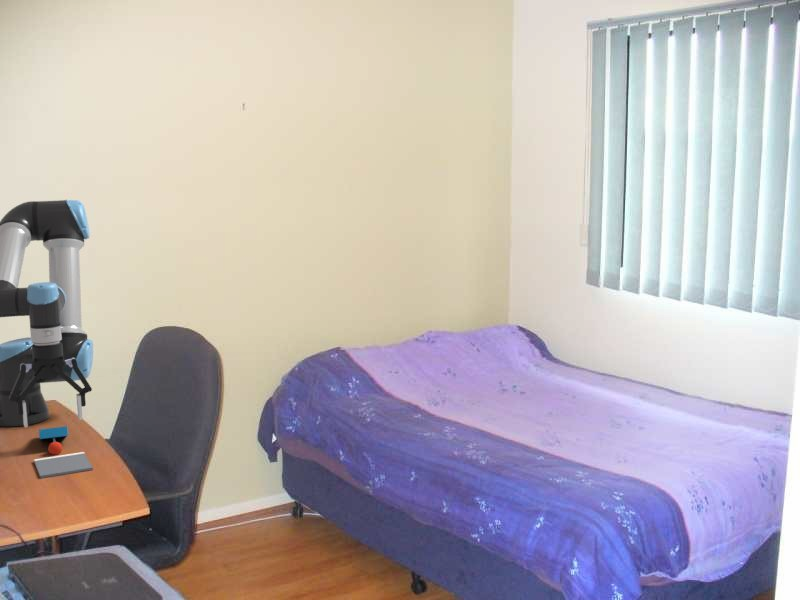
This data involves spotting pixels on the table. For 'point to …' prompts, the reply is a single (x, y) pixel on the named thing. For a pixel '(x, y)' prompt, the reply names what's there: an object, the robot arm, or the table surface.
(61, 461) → the mat
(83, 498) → the table surface
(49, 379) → the robot arm
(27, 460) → the table surface
